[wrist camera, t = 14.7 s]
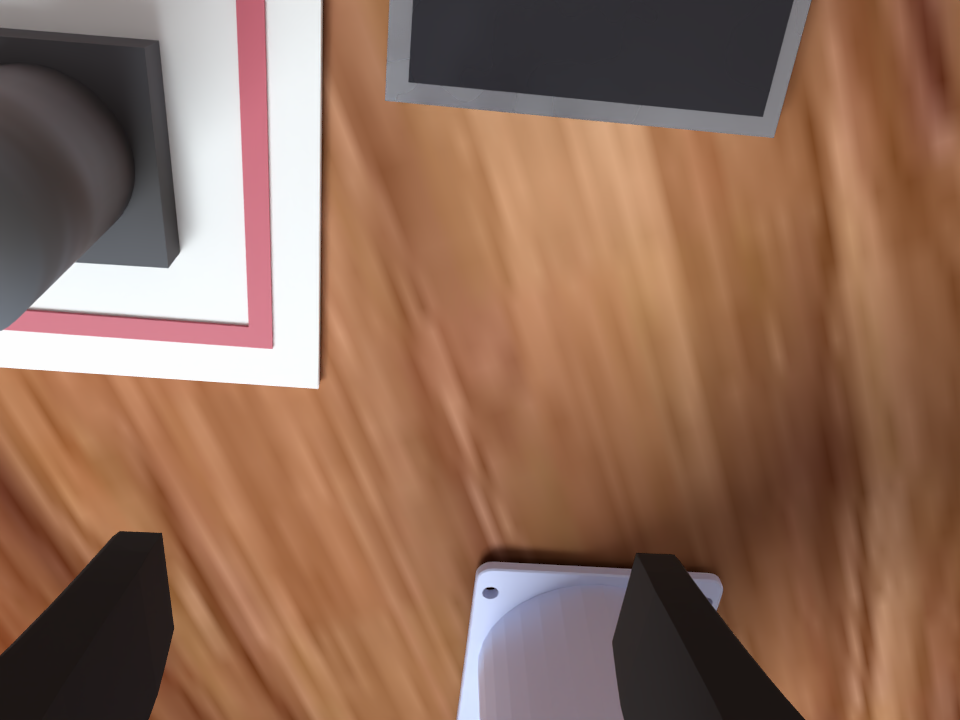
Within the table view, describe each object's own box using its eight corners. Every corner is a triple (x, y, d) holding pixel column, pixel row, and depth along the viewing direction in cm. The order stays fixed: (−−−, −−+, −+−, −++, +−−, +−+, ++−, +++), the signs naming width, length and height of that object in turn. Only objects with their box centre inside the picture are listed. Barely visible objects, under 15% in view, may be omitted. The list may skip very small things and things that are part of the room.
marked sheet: (319, 383, 23) (317, 390, 23) (-136, 352, 22) (-145, 359, 22) (323, -112, 17) (320, -112, 17) (-296, -184, 16) (-311, -186, 16)
